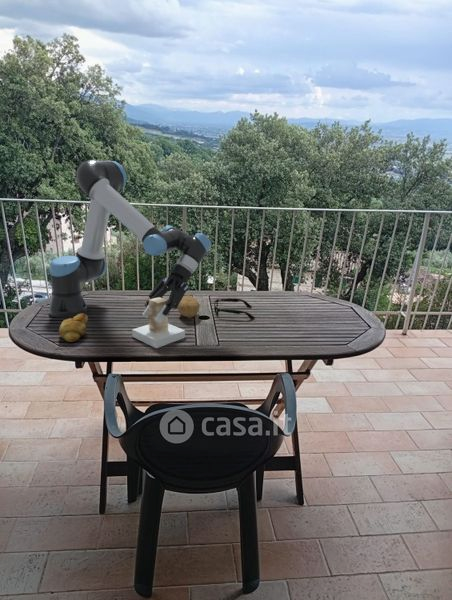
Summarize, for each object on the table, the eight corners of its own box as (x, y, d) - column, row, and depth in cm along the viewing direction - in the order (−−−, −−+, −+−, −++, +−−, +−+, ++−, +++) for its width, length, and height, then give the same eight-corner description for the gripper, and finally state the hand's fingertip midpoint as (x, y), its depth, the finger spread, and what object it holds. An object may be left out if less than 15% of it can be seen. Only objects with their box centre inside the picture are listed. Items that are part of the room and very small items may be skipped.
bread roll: (80, 344, 152) (79, 324, 150) (53, 344, 152) (51, 323, 149) (90, 330, 164) (89, 311, 162) (64, 330, 164) (63, 310, 161)
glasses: (214, 308, 199) (213, 298, 197) (251, 307, 199) (251, 297, 198) (214, 321, 183) (214, 310, 181) (255, 320, 183) (255, 309, 182)
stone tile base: (132, 336, 160) (132, 329, 160) (161, 327, 171) (161, 320, 170) (156, 348, 152) (156, 340, 151) (184, 337, 162) (184, 330, 161)
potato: (176, 321, 177) (176, 303, 174) (177, 310, 190) (177, 293, 188) (199, 322, 178) (200, 304, 175) (199, 310, 191) (199, 293, 188)
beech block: (149, 329, 160) (148, 299, 156) (159, 326, 164) (159, 296, 160) (157, 333, 157) (157, 303, 153) (168, 330, 160) (168, 300, 157)
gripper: (207, 280, 159) (174, 331, 153) (172, 269, 171) (140, 316, 165) (197, 268, 154) (162, 321, 147) (162, 258, 166) (128, 307, 159)
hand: (151, 318), depth 156 cm, fingers open, 7 cm apart
